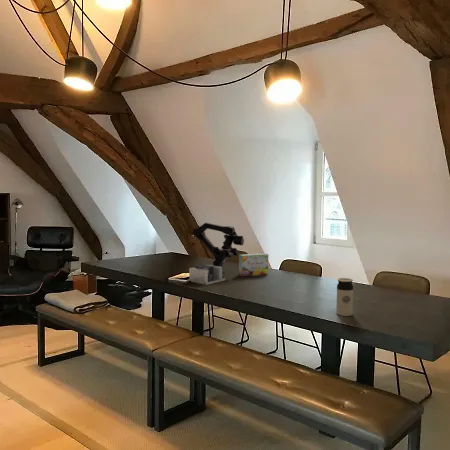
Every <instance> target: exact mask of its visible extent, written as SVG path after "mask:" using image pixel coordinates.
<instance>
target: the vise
mask: <svg viewBox="0 0 450 450" xmlns="http://www.w3.org/2000/svg"><path fill="white" fill-rule="evenodd" d="M188 272H189V277H188V278H187V281H188V280H189V281H191V282H190V283H195V284H200V285H210V284H211V285H212V284H215V283H216V284H217V283H221V282H225V281H226V278H225V277H222V279H218V280H214V279H213V281H209V282H208V270H204V269H198V268H196V267H189V269H188ZM189 281H188V282H189Z"/></svg>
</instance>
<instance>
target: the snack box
mask: <svg viewBox="0 0 450 450" xmlns="http://www.w3.org/2000/svg"><path fill="white" fill-rule="evenodd" d="M263 274H266V275H268V274H269V254H268V253H266V252H264V253H250V254H249V253H246V254H245V253H243V254H238V275H239V276H240V277H250V276H252V277H253V276H264V275H263Z"/></svg>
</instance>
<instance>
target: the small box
mask: <svg viewBox="0 0 450 450" xmlns="http://www.w3.org/2000/svg"><path fill="white" fill-rule="evenodd" d="M208 265H209V264H198V265H196V266H195V268H198V269H204V270H208V282H209V281H213V280H214V279H213V267H214V265H213V266H208Z"/></svg>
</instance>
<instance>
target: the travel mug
mask: <svg viewBox="0 0 450 450" xmlns="http://www.w3.org/2000/svg"><path fill="white" fill-rule="evenodd" d="M337 281H338V283H337V285H336V314H337V315H338V316H342V317H349V316H352V315H353V309H354V308H353V305H354V304H353V303H354V302H353V301H354V285H353V281H354V280H353V279H352V278H348V277H347V278H346V277H340V278H337Z"/></svg>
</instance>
